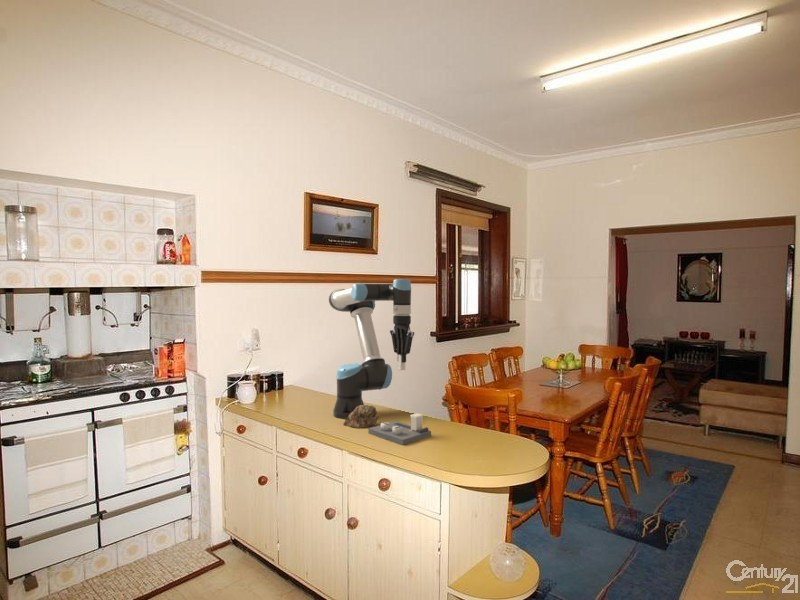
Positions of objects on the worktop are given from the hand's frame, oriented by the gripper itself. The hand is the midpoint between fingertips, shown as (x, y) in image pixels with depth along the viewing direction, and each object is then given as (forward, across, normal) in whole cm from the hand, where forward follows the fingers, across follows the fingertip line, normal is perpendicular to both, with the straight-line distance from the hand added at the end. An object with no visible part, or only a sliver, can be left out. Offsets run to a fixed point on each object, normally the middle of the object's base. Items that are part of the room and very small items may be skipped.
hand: (401, 369), depth 204 cm
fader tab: (+22, +13, -4) cm, 26 cm away
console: (+24, +8, -9) cm, 27 cm away
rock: (+25, -14, -12) cm, 31 cm away
